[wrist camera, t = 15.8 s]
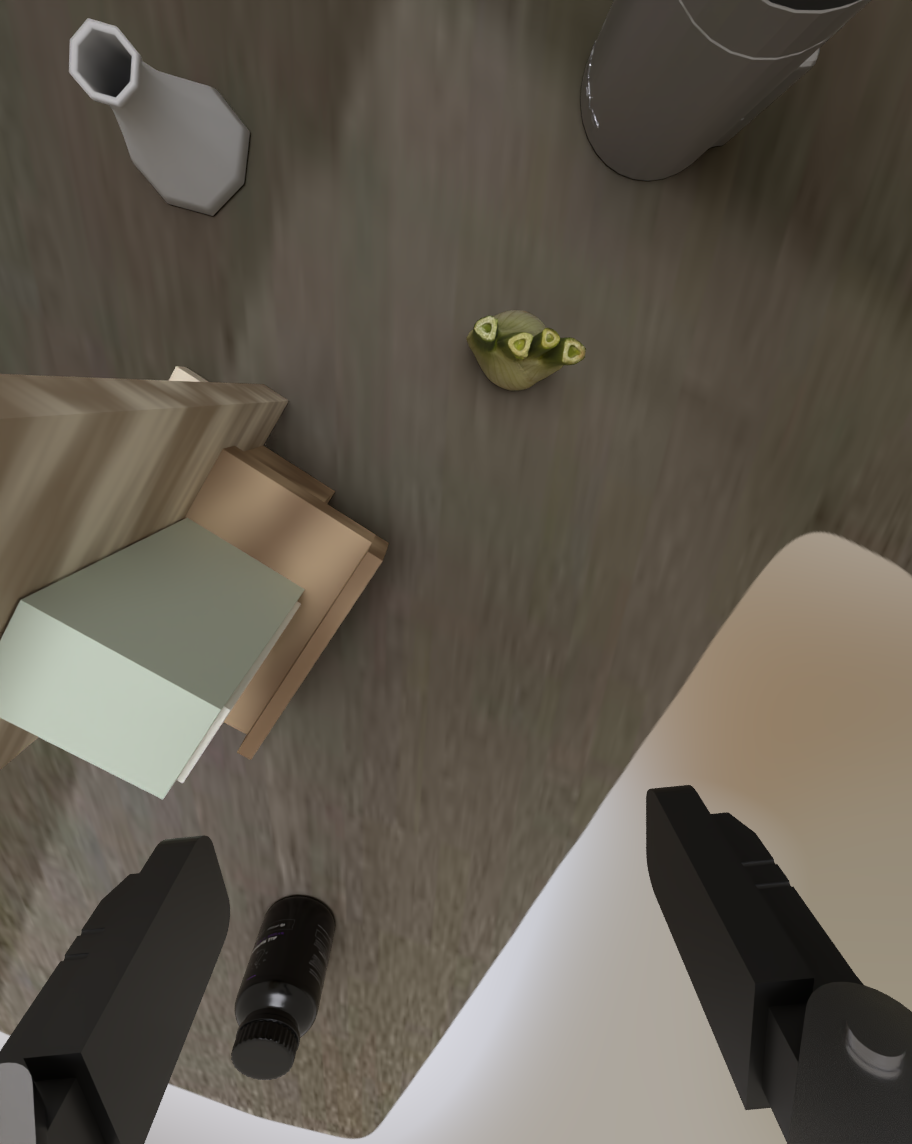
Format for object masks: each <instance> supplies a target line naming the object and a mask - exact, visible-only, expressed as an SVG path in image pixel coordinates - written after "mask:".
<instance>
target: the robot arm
mask: <svg viewBox="0 0 912 1144" xmlns="http://www.w3.org/2000/svg"><path fill="white" fill-rule="evenodd" d="M870 1H871V0H614V1H613V3H612V6H611V8H610V10H609V13H608V15H607V17H606V19H605V22H604V24H603V26H602V29H601V31H600V33H599V36H598V38H597V40H596V41H595V43H594V45H593V48H592V51H591V54H590V57H589V59H588V62H587V64H586V67H585V71H584V76H583V80H582V85H581V102H580V103H581V112H582V120H583V124H584V127H585V130H586V134H587V137H588V139H589V141H590V143H591V145H592V146H593V148H594V150H595V152H596V153H597V154H598V156H599V157H600V158H601V159H602V160H603V161H604V162H605V164H606V165H608V166H609V167H610V168H612V169H613V170H615V171H616V172H617V173H619V174H621V175H624V176H626V177H629V178H632V179H637V180H645V181H650V180H658V179H664V178H666V177H669V176H672V175H674V174H677V173H679V172H680V171H682V170H683V169H685V168H687V167H688V166H690V165H691V164H692V163H693V162H694V161H696V160H697V159H698V158H699V157H700V156H701V155H702V154H703V153H704V152H705V151H707V150H708V149H709V148H711V147H714V146H722V145H724V144H725V143H727V142H728V141H729V140H730V139H731V138H732V137H733V136H735V135H736V134H737V133H738V132H739V131H740V130H741V129H743V128H744V127H745V126H746V125H747V124H748V123H749V122H751V121H752V120H753V119H754V118H755V117H756V116H757V115H759V114H760V113H761V112H762V111H763V110H764V109H765V108H767V107H768V106H769V105H770V104H771V103H772V102H773V101H775V100H776V99H777V98H778V97H779V96H780V95H781V94H782V93H784V92H785V91H786V90H787V89H788V88H789V87H790V86H792V85H793V84H794V83H795V82H796V81H797V80H798V79H800V78H801V77H802V76H803V75H804V74H805V73H806V72H808V71H809V70H810V69H811V68H812V67H813V65H814V64H815V63H816V61H817V59H818V56H819V51H820V47H821V46H822V45H823V44H824V43H825V42H826V41H828V40H829V39H830V38H831V37H832V36H833V35H834V34H835V33H836V32H837V31H839V30H840V29H841V28H842V27H843V26H844V25H845V24H846V23H847V22H848V21H849V20H850V19H851V18H852V17H853V16H854V15H856V14H857V13H858V12H859V11H860V10H861V9H862V8H863V7H864V6H865V5H867V4H868V3H869V2H870ZM646 852H647V853H646V854H647V865H648V871H649V876H650V880H651V884H652V887H653V890H654V893H655V895H656V898H657V901H658V903H659V905H660V908H661V910H662V913H663V915H664V917H665V920H666V922H667V924H668V927H669V929H670V932H671V934H672V936H673V939H674V941H675V943H676V946H677V948H678V951H679V953H680V955H681V958H682V960H683V962H684V965H685V967H686V970H687V972H688V974H689V976H690V979H691V981H692V984H693V986H694V989H695V991H696V993H697V996H698V998H699V1000H700V1003H701V1005H702V1008H703V1010H704V1012H705V1015H706V1017H707V1019H708V1022H709V1024H710V1026H711V1029H712V1031H713V1034H714V1036H715V1038H716V1040H717V1043H718V1045H719V1048H720V1050H721V1053H722V1055H723V1057H724V1060H725V1062H726V1064H727V1067H728V1069H729V1072H730V1074H731V1076H732V1079H733V1081H734V1083H735V1086H736V1088H737V1091H738V1093H739V1095H740V1098H741V1100H742V1102H743V1105H744V1107H745V1109H746V1110H751V1109H761V1108H771V1109H772V1111H773V1113H774V1115H775V1118H776V1120H777V1122H778V1124H779V1126H780V1128H781V1131H782V1133H783V1135H784V1137H785V1139H786V1141H787V1144H912V1012H911V1011H910V1010H909V1009H907V1008H906V1007H905V1006H903V1005H902V1004H901V1003H899V1002H898V1001H896V1000H894V999H893V998H891V997H890V996H888V995H886V994H884V993H882V992H880V991H878V990H876V989H873V988H870V987H867V986H865V985H863V984H862V982H861V981H860V980H859V978H858V977H857V976H856V975H855V973H854V972H853V971H852V969H851V968H850V966H849V965H848V964H847V962H846V961H845V959H844V958H843V956H842V955H841V954H840V952H839V951H838V949H837V948H836V947H835V945H834V944H833V942H832V941H831V940H830V938H829V937H828V935H827V934H826V932H825V931H824V930H823V928H822V927H821V925H820V924H819V922H818V921H817V920H816V918H815V917H814V915H813V914H812V913H811V911H810V910H809V908H808V907H807V906H806V904H805V903H804V901H803V900H802V898H801V897H800V896H799V894H798V893H797V891H796V890H795V889H794V887H791V886H790V884H789V880H788V879H787V877H786V876H785V874H784V873H783V872H782V870H781V869H780V868H779V866H778V865H777V864H775V863H774V859H773V857H772V856H771V855H770V853H769V852H768V850H767V849H766V848H765V846H764V845H763V844H762V842H761V840H760V839H759V838H758V836H757V835H756V833H754V832H753V831H752V830H751V829H749V828H748V827H747V826H745V825H744V824H742V823H741V822H740V821H739V820H737V819H736V818H735V817H733V816H732V815H731V814H729V813H718V814H710V812H709V811H708V809H707V808H706V806H705V805H704V803H703V801H702V800H701V798H700V796H699V795H698V793H697V792H696V791H695V789H694V788H693V787H692V786H691V785H684V786H674V787H664V788H655V789H649V790H648V791H647V796H646ZM229 919H230V904H229V898H228V895H227V891H226V888H225V884H224V881H223V877H222V874H221V870H220V867H219V863H218V860H217V857H216V853H215V850H214V846H213V843H212V841H211V839H210V838H209V837H208V836H195V837H185V838H175V839H166V840H163V841H161V842H160V843H159V844H158V845H157V847H156V848H155V850H154V851H153V853H152V854H151V856H150V857H149V859H148V861H147V862H146V864H145V865H144V867H143V869H142V870H141V872H140V873H138V874H130V875H128V876H127V877H126V878H125V879H124V880H123V881H122V882H121V883H120V884H119V885H118V886H117V887H115V888H114V889H113V890H112V891H111V892H110V893H109V894H108V895H107V896H106V897H105V898H103V899H102V900H101V902H100V903H99V905H98V906H97V908H96V909H95V911H94V912H93V914H92V915H91V917H90V918H89V920H88V921H87V923H86V924H85V926H84V927H83V929H82V933H81V936H77V938H76V939H75V940H74V942H73V943H72V945H71V946H70V948H69V949H68V951H67V952H66V954H65V959H64V961H61V962H60V963H59V964H58V966H57V967H56V969H55V970H54V972H53V973H52V975H51V976H50V978H49V979H48V981H47V982H46V984H45V985H44V987H43V988H42V990H41V991H40V993H39V994H38V996H37V997H36V999H35V1000H34V1002H33V1003H32V1005H31V1006H30V1008H29V1009H28V1011H27V1012H26V1014H25V1015H24V1016H23V1018H22V1019H21V1021H20V1022H19V1024H18V1025H17V1027H16V1028H15V1030H14V1031H13V1033H12V1034H11V1036H10V1037H9V1039H8V1040H7V1042H6V1043H5V1045H4V1046H3V1048H2V1049H1V1051H0V1144H144V1143H145V1140H146V1138H147V1135H148V1132H149V1130H150V1127H151V1125H152V1123H153V1120H154V1118H155V1115H156V1113H157V1110H158V1107H159V1105H160V1102H161V1100H162V1097H163V1095H164V1092H165V1090H166V1087H167V1085H168V1082H169V1080H170V1077H171V1075H172V1072H173V1070H174V1067H175V1065H176V1062H177V1060H178V1057H179V1055H180V1052H181V1050H182V1047H183V1045H184V1042H185V1040H186V1037H187V1034H188V1032H189V1029H190V1027H191V1024H192V1022H193V1019H194V1017H195V1014H196V1012H197V1009H198V1007H199V1004H200V1002H201V999H202V997H203V994H204V992H205V989H206V987H207V984H208V982H209V979H210V977H211V974H212V972H213V969H214V967H215V964H216V962H217V959H218V956H219V954H220V951H221V949H222V946H223V944H224V941H225V938H226V935H227V932H228V927H229Z"/></svg>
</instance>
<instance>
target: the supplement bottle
mask: <svg viewBox="0 0 912 1144" xmlns="http://www.w3.org/2000/svg"><path fill="white" fill-rule="evenodd" d="M334 931H335V923H334V919H333V916H332V914H331V912H330V911H329V910H328V908H327V907H326V906H324V905H323V904H322V903H320V902H319V901H317V900H315V899H312V898H308V897H302V896H295V897H288V898H285V899H282V900H280V901H278V902H277V903H275V904H274V905H273V906H272V907H271V908H270V909H269V910H268V912H267V913H266V915H265V918H264V921H263V923H262V926H261V929H260V932H259V934H258V937H257V940H256V943H255V946H254V949H253V952H252V954H251V957H250V960H249V963H248V966H247V969H246V972H245V975H244V977H243V980H242V983H241V986H240V989H239V992H238V995H237V998H236V1002H235V1016H236V1020H237V1023H238V1025H239V1028H238V1031H237V1034H236V1040H235V1043H234V1046H233V1050H232V1053H231V1056H232V1057H231V1060H232V1061H233V1062H232V1063H233V1064H234V1066H235V1068H237V1070H238V1071H239V1072H241V1073H242V1074H244V1075H246V1076H247V1077H251V1078H254V1079H258V1080H261V1079H262V1080H271V1079H276V1078H278V1077H281V1076H282V1075H285V1074H286V1073H287V1072H288V1071H289V1070H290V1069H291V1068H292V1065H293V1062H294V1059H295V1054H296V1051H297V1049H298V1046H299V1042H300V1038H301V1037H302V1036H303V1035H304V1034H305V1033H306V1032H307V1031H308V1030H309V1029H310V1028H311V1026H312V1025H313V1023H314V1021H315V1019H316V1016H317V1012H318V1008H319V1003H320V999H321V994H322V989H323V984H324V980H325V975H326V970H327V965H328V961H329V956H330V951H331V947H332V942H333V936H334Z"/></svg>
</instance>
